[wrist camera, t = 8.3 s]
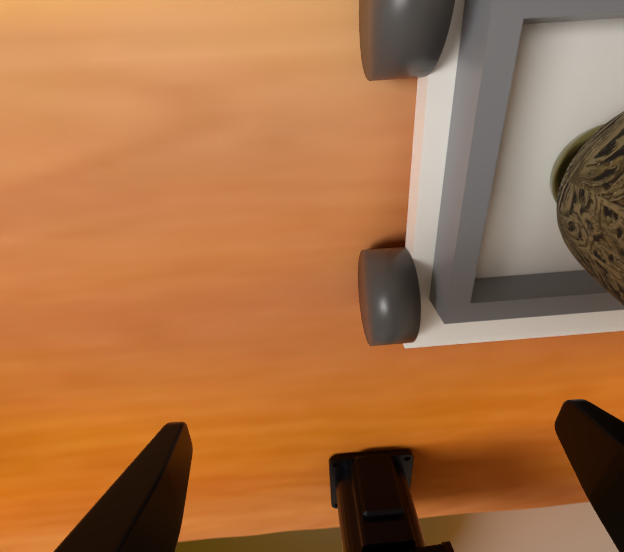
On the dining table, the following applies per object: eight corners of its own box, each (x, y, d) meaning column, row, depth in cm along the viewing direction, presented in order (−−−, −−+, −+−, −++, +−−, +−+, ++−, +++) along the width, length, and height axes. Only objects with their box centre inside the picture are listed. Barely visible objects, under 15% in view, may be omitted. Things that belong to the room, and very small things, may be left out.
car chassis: (651, 294, 22) (764, 363, 17) (357, 317, 22) (379, 395, 16) (849, -122, 13) (1219, -251, 8) (359, -93, 13) (406, -206, 8)
